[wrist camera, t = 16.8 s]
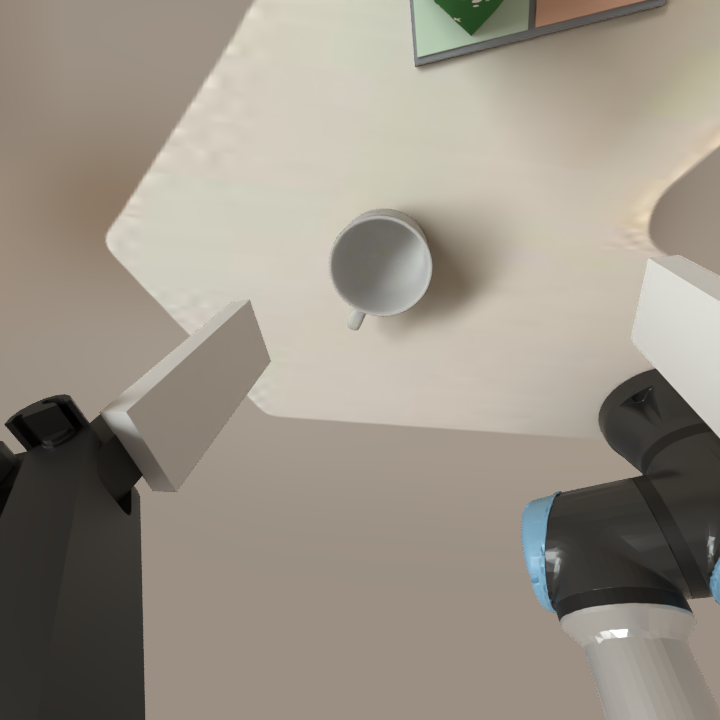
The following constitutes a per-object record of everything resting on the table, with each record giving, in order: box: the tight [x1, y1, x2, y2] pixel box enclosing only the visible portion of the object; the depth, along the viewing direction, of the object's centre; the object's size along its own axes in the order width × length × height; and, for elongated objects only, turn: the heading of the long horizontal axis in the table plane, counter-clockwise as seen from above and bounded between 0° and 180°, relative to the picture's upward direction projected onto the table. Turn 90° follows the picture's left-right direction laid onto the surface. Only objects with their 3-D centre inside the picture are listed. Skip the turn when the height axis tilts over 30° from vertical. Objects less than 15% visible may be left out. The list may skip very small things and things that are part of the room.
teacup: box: [329, 209, 433, 330], centre depth 42 cm, size 14×11×8 cm
